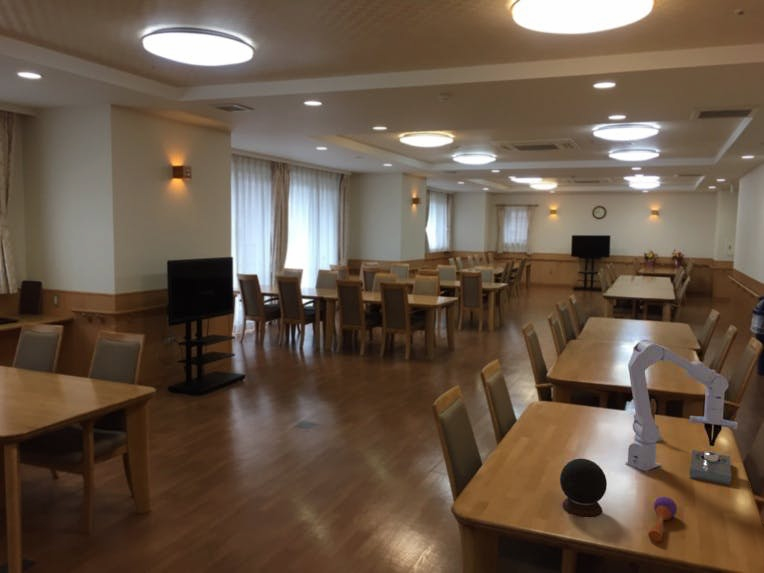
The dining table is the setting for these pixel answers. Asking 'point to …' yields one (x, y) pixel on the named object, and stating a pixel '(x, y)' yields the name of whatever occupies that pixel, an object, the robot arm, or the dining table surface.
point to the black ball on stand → (583, 487)
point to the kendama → (662, 516)
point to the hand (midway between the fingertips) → (711, 445)
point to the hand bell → (653, 411)
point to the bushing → (711, 456)
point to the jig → (710, 468)
